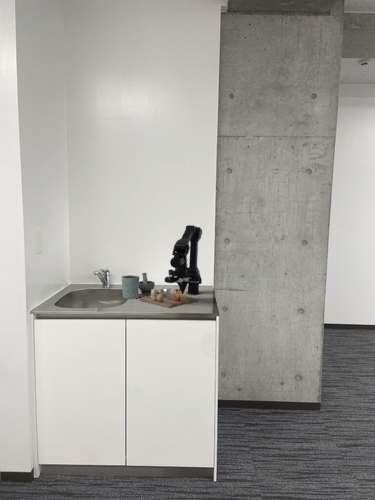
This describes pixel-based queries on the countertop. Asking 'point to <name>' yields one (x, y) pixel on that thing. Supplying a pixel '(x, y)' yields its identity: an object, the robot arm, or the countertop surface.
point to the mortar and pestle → (146, 285)
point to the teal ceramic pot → (130, 286)
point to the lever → (171, 293)
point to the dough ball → (159, 297)
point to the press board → (166, 300)
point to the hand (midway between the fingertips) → (182, 293)
